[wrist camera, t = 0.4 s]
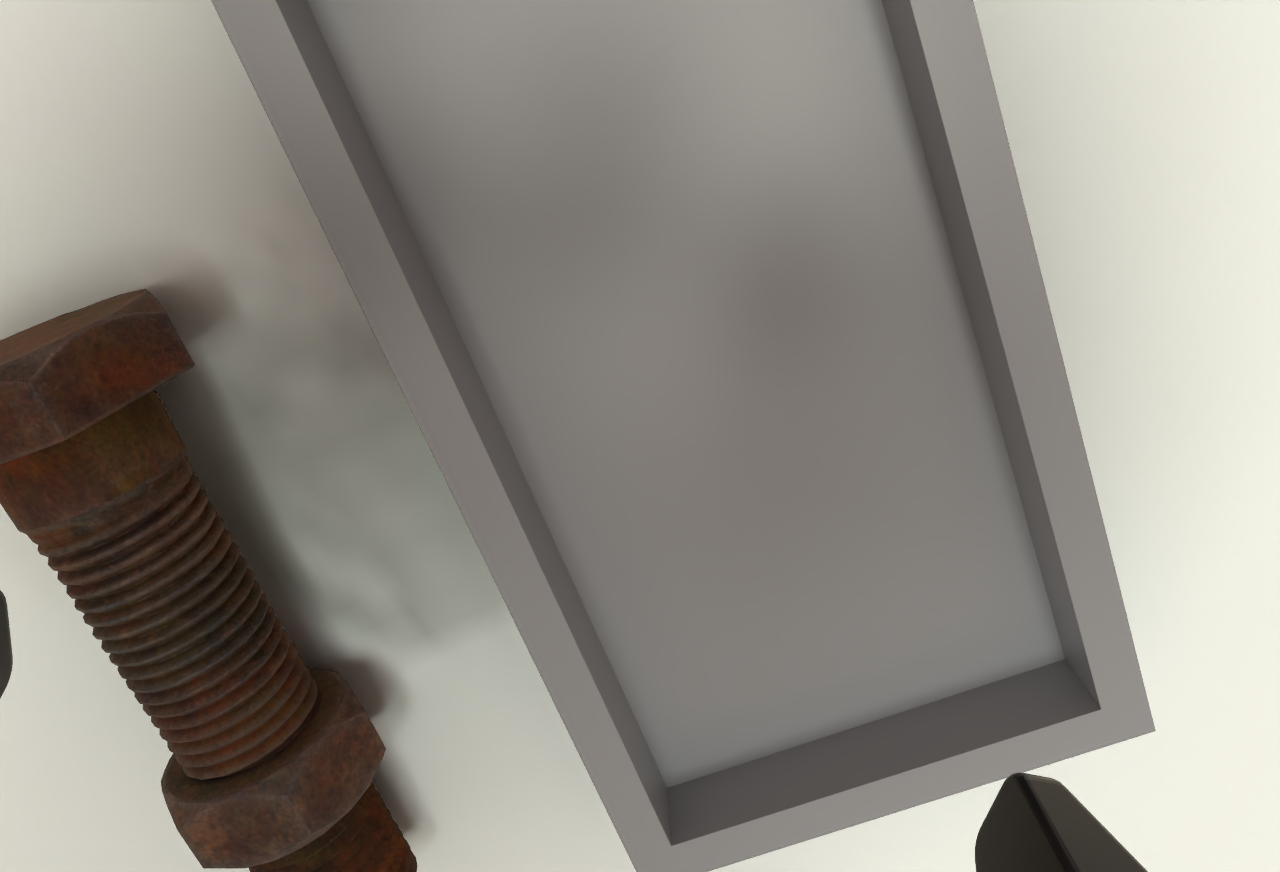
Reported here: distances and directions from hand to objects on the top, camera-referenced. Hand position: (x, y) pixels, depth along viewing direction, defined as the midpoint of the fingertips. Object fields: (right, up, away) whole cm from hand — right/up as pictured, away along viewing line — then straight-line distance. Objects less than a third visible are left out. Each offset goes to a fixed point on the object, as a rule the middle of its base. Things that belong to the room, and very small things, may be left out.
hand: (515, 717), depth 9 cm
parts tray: (+3, +4, +13) cm, 14 cm away
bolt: (-8, -1, +16) cm, 18 cm away
